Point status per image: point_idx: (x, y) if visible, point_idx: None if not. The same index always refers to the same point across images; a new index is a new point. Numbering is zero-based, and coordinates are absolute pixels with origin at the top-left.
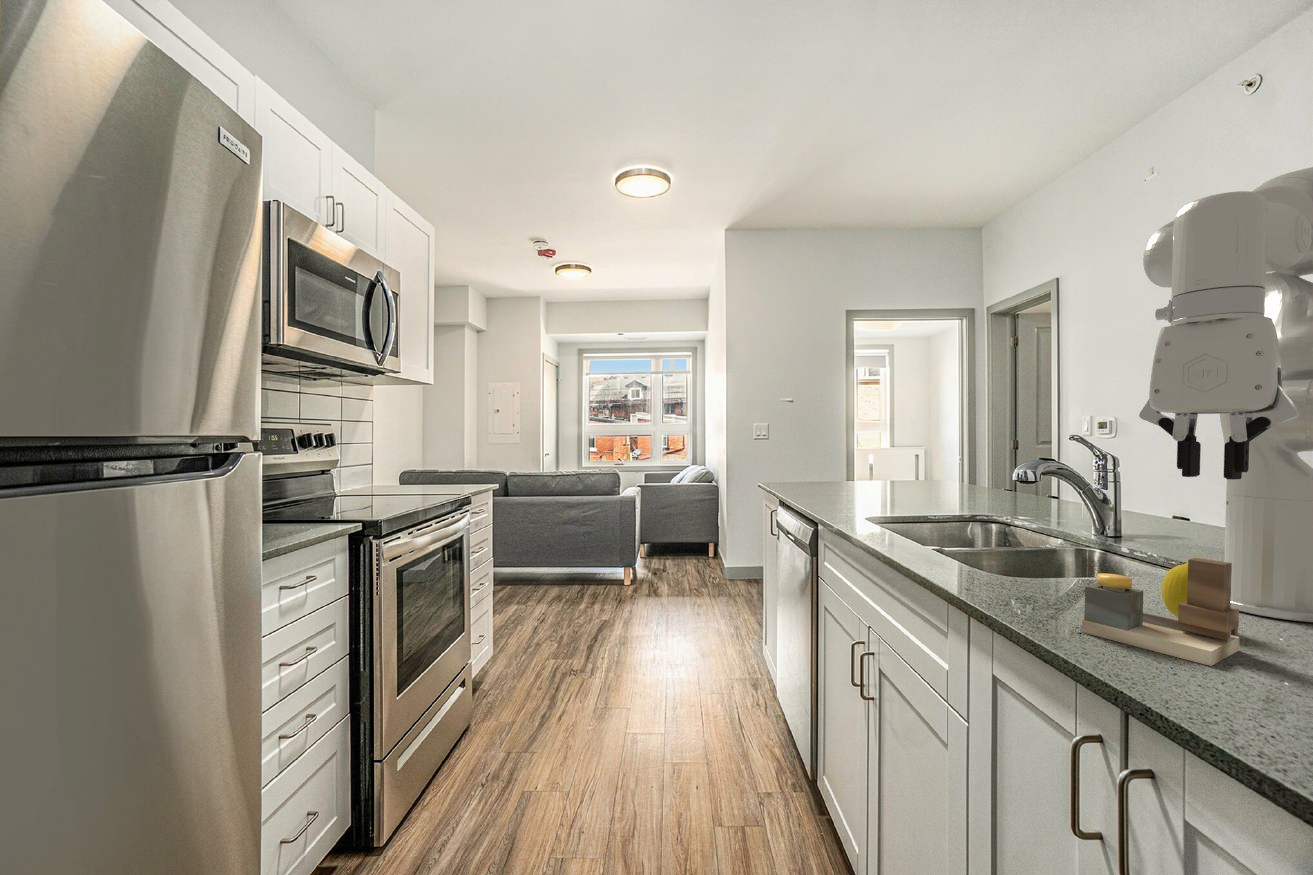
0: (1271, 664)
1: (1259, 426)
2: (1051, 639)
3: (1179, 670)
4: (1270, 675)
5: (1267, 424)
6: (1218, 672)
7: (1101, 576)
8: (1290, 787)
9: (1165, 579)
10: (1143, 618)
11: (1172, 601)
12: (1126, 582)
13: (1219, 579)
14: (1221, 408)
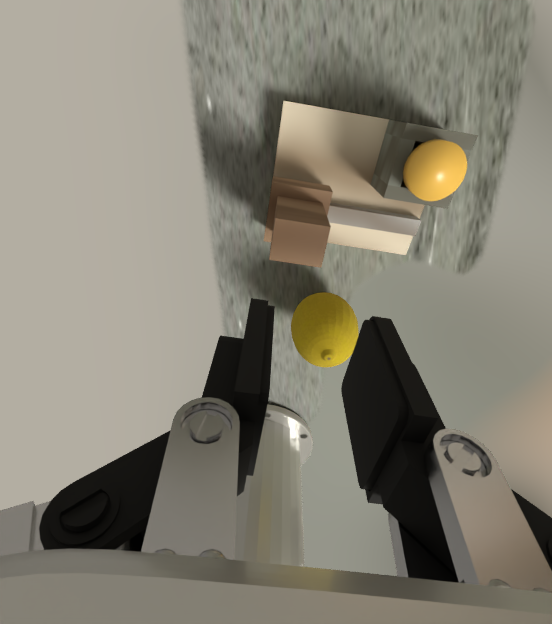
0: (232, 191)
1: (103, 482)
2: (492, 22)
3: (314, 23)
4: (226, 128)
5: (62, 496)
6: (273, 73)
7: (460, 147)
8: None
9: (356, 327)
10: (370, 210)
11: (342, 299)
12: (415, 153)
13: (282, 210)
14: (269, 589)
